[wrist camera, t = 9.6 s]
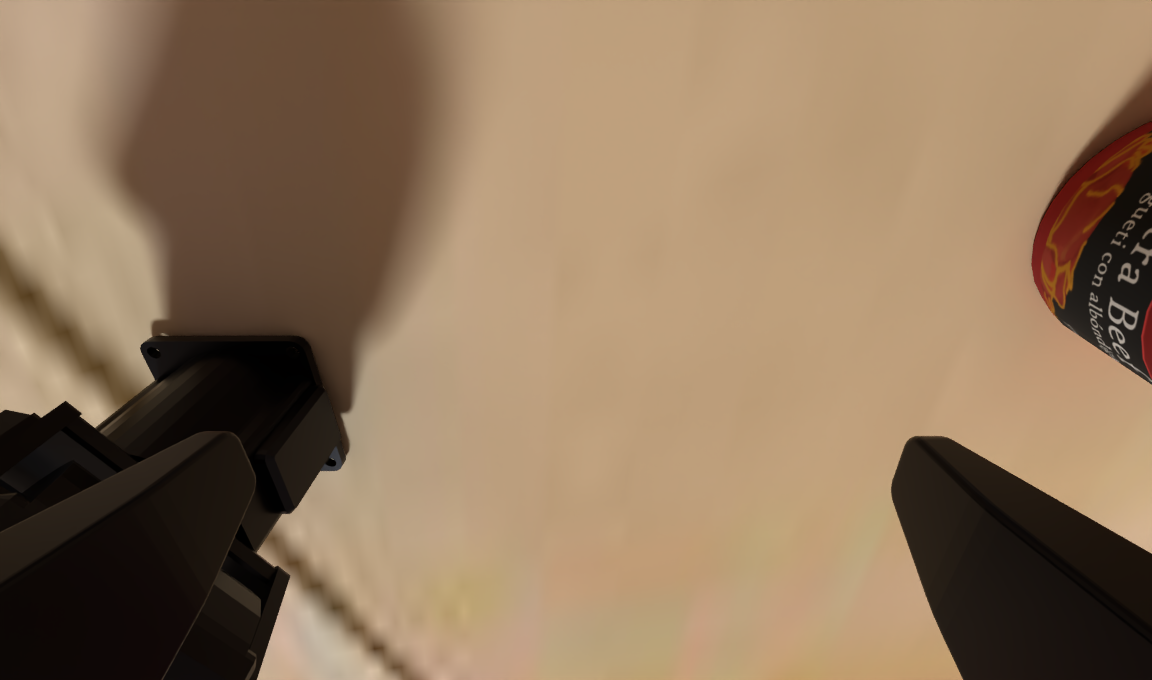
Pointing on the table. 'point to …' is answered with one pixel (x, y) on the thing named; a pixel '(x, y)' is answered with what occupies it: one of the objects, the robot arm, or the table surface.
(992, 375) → the table surface
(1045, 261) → the canned food
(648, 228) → the table surface
